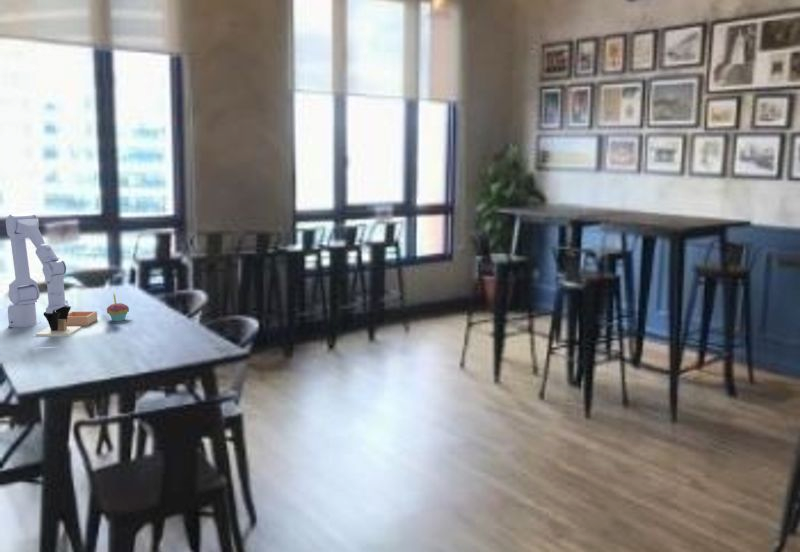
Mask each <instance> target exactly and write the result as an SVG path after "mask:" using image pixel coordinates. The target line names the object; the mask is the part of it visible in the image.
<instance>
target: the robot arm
mask: <svg viewBox="0 0 800 552" xmlns="http://www.w3.org/2000/svg"><path fill="white" fill-rule="evenodd" d="M39 226H40V221H39V218H38V217H37V215H36V214H35V213H34V212H33V213H32V212H31V213H22V214H21V213H20V214H8V216H6V219H5V229H6V233H7V235H6V236H8V237H9V239H10V246H11V255H12V260H13V261H12V262H13V269H14V276H15V277H14V278H15V279H13V281H12V282H11V283H9V284H8V295H7V296H8V299H9V301H10V302H11V303H9V305H8V307H7V318H8V325H7V328H15V327H16V328H22V327H24V328H25V327H26V328H28V327H29V328H33V327H35V326H37V325H38V324H41V323H42V322H41V321H38V319H37V311H36V310H37V309H36V303H37V302H38V300H39V298H40V294H41V293H40V289H39V286H38V283H37V281H36V280H34V279H33V278H31V274H30V267H29V259H28V251H27V243H26V238H28V239H29V240H30V242H31V243H32V244H33V246H34V247H35V248H36V249H35V255H36V256H37V258H38V260H39V261H40V263H41V265H42V269H41V270H42V273H43V275H44V280H45V282H46V287H47V302H48V304H47V307H46V308H45V312H43V316H44V318H45V319H46V320H47V323H48V325H49V326H48V327H50V329H51V331H57V330H58V320H59V319H66V323H67V317H68V313H70V312H71V309H72V308H71V306H70V305H69V303H68V300H67V299H66V295H65V282H64V281H65V280H64V276H65V275H66V272H67V265H66V263H65V261H64V259H61V258H59V257H58V256H57V254H56V253H55V251H54V249H53V248H52V246H51V245H50V244H46V242H45V240H44V238H43V235H42V234H41V231H40V229H39Z"/></svg>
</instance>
